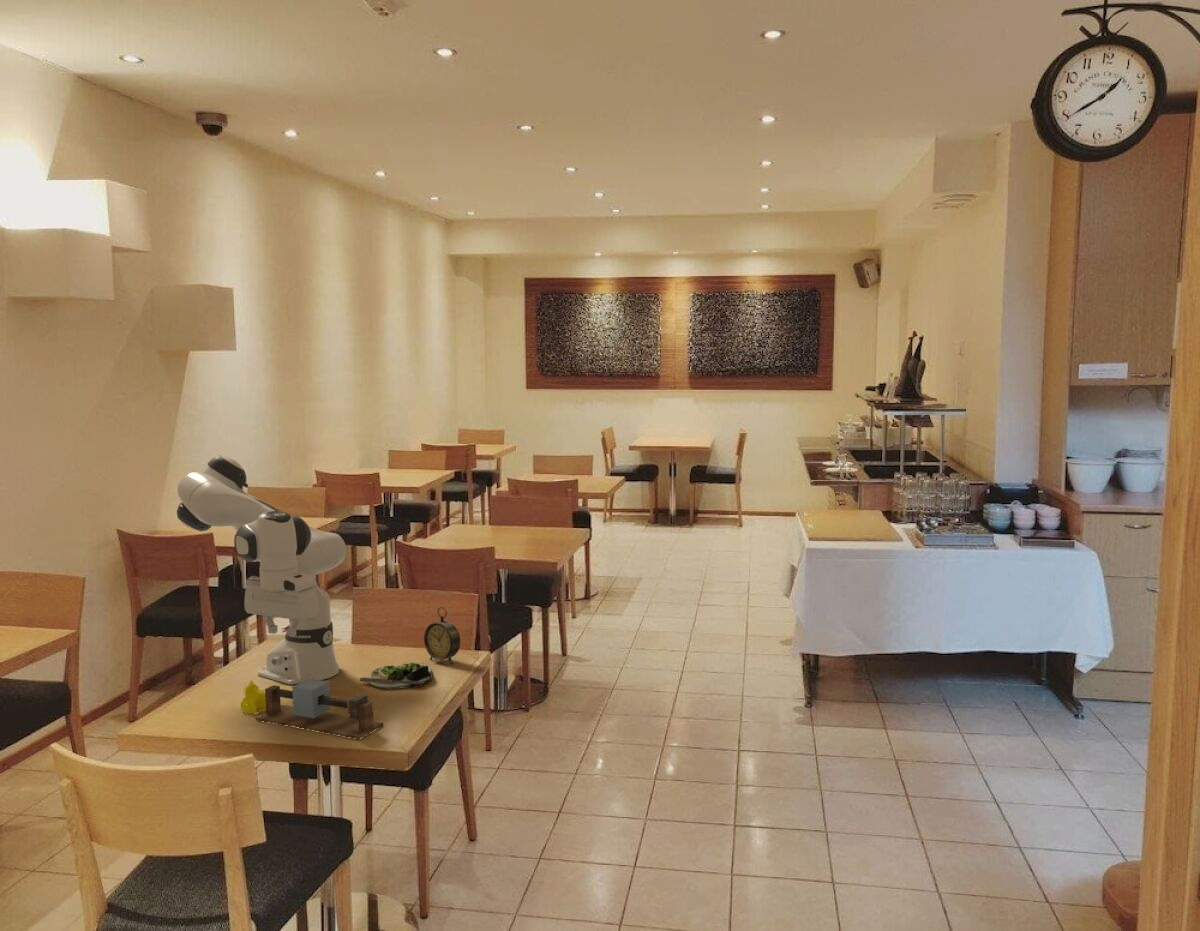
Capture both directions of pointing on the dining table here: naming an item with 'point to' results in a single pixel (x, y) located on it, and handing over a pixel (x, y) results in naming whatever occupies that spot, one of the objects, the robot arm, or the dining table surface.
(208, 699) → the dining table surface
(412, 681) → the salad plate
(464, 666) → the dining table surface
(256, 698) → the crumpled paper
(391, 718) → the dining table surface
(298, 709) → the sleeve
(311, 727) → the rail rig
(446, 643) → the alarm clock
